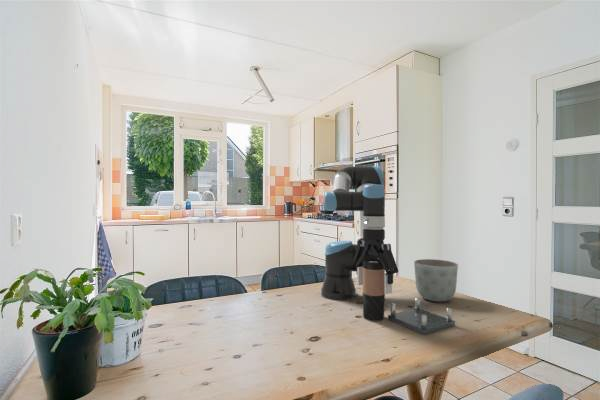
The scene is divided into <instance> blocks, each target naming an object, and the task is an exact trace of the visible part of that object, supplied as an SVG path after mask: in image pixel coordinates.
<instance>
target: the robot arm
mask: <svg viewBox="0 0 600 400" xmlns="http://www.w3.org/2000/svg"><path fill="white" fill-rule="evenodd" d="M384 179H385V178H384V173H383V169H382V168H381V167H380V166H374V165H370V166H346V167H344V168H341V169H339V170H337V171H336V172H335V173H334V174H333V175H332V177H331V186H332V188H331V191H326V192H325V193H324V197H323V200H324V201H323V207H324V209H325V210H326V211H327V212H328V211H331V212H359V219H360V220H359V221H360V223H359V225H360V227H359V229H360V236H359V238H358V239H357V241H356V243H353V241H352V240H338V241H331V242H329V243H327V244H326V246H325V253H324V255H325V262H324V263H325V268H324V269H325V273H324V274H325V276H324V280H323V283H322V286H321V291H320V292H321V296H322V297H323V298H326V299H329V300H339V301H340V300H341V301H343V300H350V299H354V298H355V297H356V296H357V290H356V286H355V283H354V280H353V272H356V279H357V281H356V283H357V284H356V285H357V286H363V260H364V261H368V260H369V259H379V260H380V262H381V264H382V266H383V268H384V270H385V274H384V294H385V295H389V294H392V293H393V284H394V274H398V273H399V269H398V266H397V263H396V260H395V257H394V254H393V252H392V245H391V243H385V241H384V240H385V238H386V235H385V234H386V231H385V229H384V228H386V221H385V220H386V216H385V215H386V214H385V211H386V210H385V207H386V204H385V203H386V202H385V201H386V190H385V189H386V187H385V182H384ZM350 190H355V191H350Z"/></svg>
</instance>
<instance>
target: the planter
mask: <svg viewBox="0 0 600 400" xmlns="http://www.w3.org/2000/svg"><path fill="white" fill-rule="evenodd" d="M413 263H414V278H415V279H414V280H415V288H416V291H417V293H418V294H419V296H420V297H421V298H423V299H425V300H427V301H430V302H431V301H432V302H435V303H436V302H438V303H442V302H448V301H450V300H451V299H453V297H454V296H455V294H456V290H457V282H458V281H457V280H458V269H459V264H458V263H456V262H453V261H450V260H443V259H430V258H426V259H425V258H424V259H417V260H414V261H413Z"/></svg>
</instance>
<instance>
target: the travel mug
mask: <svg viewBox="0 0 600 400" xmlns="http://www.w3.org/2000/svg"><path fill="white" fill-rule="evenodd" d="M384 274H386V271H385V270H384V268H383V266H382V264H381V262H380V260H379V259H369V260H368V261H364V260H363V285H362V316H363V318H364V319H365V320H368V321H370V322H371V321H372V322H380V321H383V320H384V319H385V303H386V302H385V301H386V299H385V297H386V294H384Z"/></svg>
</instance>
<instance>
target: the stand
mask: <svg viewBox="0 0 600 400" xmlns="http://www.w3.org/2000/svg"><path fill="white" fill-rule="evenodd" d="M414 299H415V302H414V303H415V304H414V305H415V306H414V307H415V308H412V309H407V310H404V311H403V310H402V311H399V312H397V310H396V305H397V304H396V303H393V302H391V303H390V314H388V315H387V319H388V321H391V322H393V323H396V324H397V325H400V326H402V327H405V328H407V329H410V330H412V331H415V332H417V333H419V334H421V335H422V336H423V335H424V336H426V335H429V334H433V333H437V332H439V331H443V330H445V329H448V328H451V327H455V325H456V323H455V322H456V321H455V320H453V319H452V318H453V315H452V314H453V313H452V312H453V310H452V309H453V308H451V307H446V317H444V316H441V315H440V314H439V315H438V314H436V313H433V312H430V311H427V310H424V309H422V308H421V298H420V297H415V298H414Z"/></svg>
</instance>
